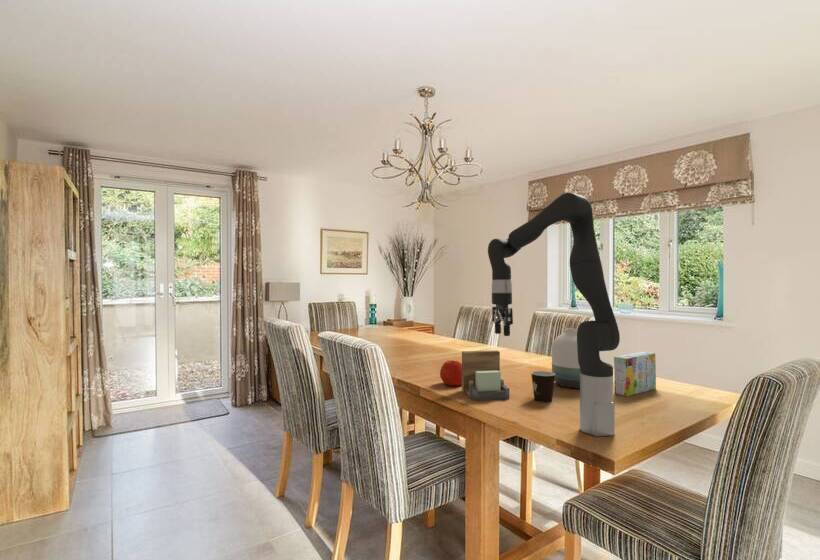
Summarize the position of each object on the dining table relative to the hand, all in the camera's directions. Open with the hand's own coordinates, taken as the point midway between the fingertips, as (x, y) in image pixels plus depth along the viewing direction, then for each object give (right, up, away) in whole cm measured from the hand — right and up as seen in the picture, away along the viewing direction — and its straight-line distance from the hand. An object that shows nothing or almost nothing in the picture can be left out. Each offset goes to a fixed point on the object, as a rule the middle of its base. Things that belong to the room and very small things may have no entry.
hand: (502, 334), depth 166 cm
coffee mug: (+16, -25, +1) cm, 29 cm away
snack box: (+56, -25, +12) cm, 63 cm away
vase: (+35, -25, +22) cm, 48 cm away
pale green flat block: (-5, -25, +3) cm, 25 cm away
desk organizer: (-5, -24, +7) cm, 26 cm away
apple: (-16, -25, +23) cm, 38 cm away
